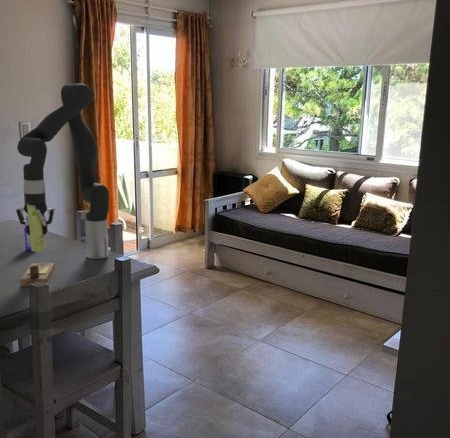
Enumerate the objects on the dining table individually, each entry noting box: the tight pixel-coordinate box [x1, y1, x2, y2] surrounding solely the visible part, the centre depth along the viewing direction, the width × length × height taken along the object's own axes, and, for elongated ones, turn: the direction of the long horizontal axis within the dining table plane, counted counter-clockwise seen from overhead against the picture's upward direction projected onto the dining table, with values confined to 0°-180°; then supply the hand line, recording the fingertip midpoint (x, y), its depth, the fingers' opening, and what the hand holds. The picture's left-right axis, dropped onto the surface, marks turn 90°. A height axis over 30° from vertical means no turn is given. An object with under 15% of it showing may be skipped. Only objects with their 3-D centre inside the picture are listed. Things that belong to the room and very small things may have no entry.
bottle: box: [23, 212, 33, 252], centre depth 222 cm, size 7×6×17 cm
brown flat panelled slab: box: [20, 262, 56, 286], centre depth 189 cm, size 9×18×7 cm, turn 9°
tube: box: [27, 204, 46, 253], centre depth 186 cm, size 6×5×20 cm
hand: (37, 234), depth 186 cm, fingers closed on tube, 5 cm apart
